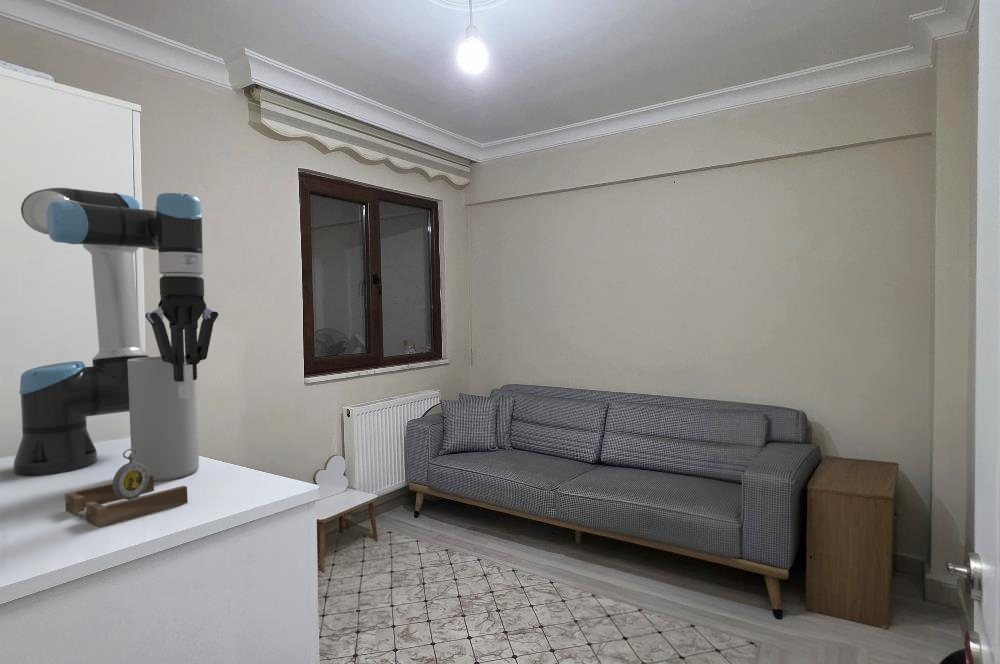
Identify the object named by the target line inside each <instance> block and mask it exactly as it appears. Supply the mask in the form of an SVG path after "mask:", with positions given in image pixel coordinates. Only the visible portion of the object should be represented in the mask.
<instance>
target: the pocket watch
mask: <svg viewBox="0 0 1000 664" xmlns="http://www.w3.org/2000/svg"><path fill="white" fill-rule="evenodd" d="M131 450H133V451H134V452H135V455H134V456H132V454H131V453H129V455H128V456H126V453H127V452H128V451H131ZM136 454H137V452H136V450H134V449H131V448H129V449H126V450H125V451H124V452H123V453H122V456H123V458H124V459H127V460H129V461H128V463H125V464H123V465H122V466H121V467H119V469H118V470H117V471H116V472H115V475H114V477H113V479H112V483H113V490H114V492H115V494H116V495H117V496H118V497H120V498H121V499H122V500H129V499H133V498H137V497H141V496H142V494H144V493H143V491H144V490H145V489H146V487H147V485H148V481H149V472H148V469H147V468H146V466H145V465H144V464H142V463H140V462H133V461H132V459H133V458H134V457H135V456H136ZM136 474H138V475H137V477H138V478H137V477H136ZM136 480H138V483H137V482H136ZM130 482H131V484H130ZM128 483H129V485H127V484H128ZM124 485H125V486H126V487H125V486H124ZM127 487H134V488H133V489H132V488H131V490H129V491H128V490H127ZM125 488H126V489H125ZM143 496H145V494H144V495H143Z"/></svg>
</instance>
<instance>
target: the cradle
mask: <svg viewBox="0 0 1000 664" xmlns="http://www.w3.org/2000/svg"><path fill="white" fill-rule="evenodd" d="M137 478H138V477H137ZM136 482H137V483H138V480H136ZM154 482H155V481H153V475H151V474H150V475H149V481H148V485H147V487H146V489H145V490H144V491H143V493H142V494H144V495H145V493H146V495H145V496H144V495H140V496H141V497H137V498H133V499H129V500H128V499H124V500H122V501H118V502H114V503H110V504H106V505H103V504H105V503H109V502H113V501H117V500H121V499H122V498H120V497H118V496H117V495H116V494H115V492H114V490H113V482H110V483H107V484H102V485H97V486H94V487H89V488H84V489H81V490H80V489H79V490H75V491H71V492H68V493H67V492H66V493H64V503H65V504H64V505H65V506H64V507H65V512H68V513H70V514H71V515H73V516H75V517H78V518H80V519H82V520H84V521H86V522H88V523H90V524H92V525H94V526H96V527H97V528H102V527H106V526H110V525H113V524H117V523H119V522H124V521H127V520H131V519H135V518H138V517H143V516H146V515H149V514H152V513H157V512H160V511H164V510H167V509H171V508H175V507H178V506H182V505H185V504H188V502H189V501H188V486H186V485H181V486H177V487H172V488H169V489H164V490H161V491H158V492H153V491H155V486H154V485H155V484H154ZM130 484H131V482H130ZM127 485H129V483H128V484H127ZM124 486H125V485H124ZM125 487H126V486H125ZM131 488H132V489H133V488H134V487H127V490H128V491H129V490H131ZM125 489H126V488H125ZM149 492H153V493H149ZM147 493H149V494H147Z"/></svg>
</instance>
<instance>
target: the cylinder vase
mask: <svg viewBox="0 0 1000 664" xmlns="http://www.w3.org/2000/svg"><path fill="white" fill-rule="evenodd" d="M127 364H128V387H129V411H130V412H129V411H128V412H129V426H130V428H129V431H130V449H134V450H136V452H137V454H136V456H135V457H134V458H133V459H132V461H133V462H140V463H142V464H144V465H145V466H146V468H147V469H148V472H149V475H150V474H151V475H153V482H164V481H169V480H170V481H171V480H176V479H181V478H184V477H187V476H189V475H192V474H194V473H195V472H197V471H198V470H199V467H200V464H199V463H200V457H199V454H200V453H199V452H200V451H199V432H198V430H199V429H198V427H199V426H198V409H197V408H198V402H197V400H198V399H197V398H198V397H197V379H196V380H193V393H194V398H190V399H183V398H179V386H178V382H176V381H174V373H173V365H172V364H171V363H168V362H163V361H162V358H161V355H160V356H149V357H144V358H134V359H129V360H127ZM184 364H187V363H186V360H185V355H184ZM130 452H131V453H130V454H132V456H134V455H135V452H134V451H133V450H130ZM137 475H138V474H136V477H137Z"/></svg>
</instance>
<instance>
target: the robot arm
mask: <svg viewBox="0 0 1000 664" xmlns="http://www.w3.org/2000/svg"><path fill="white" fill-rule="evenodd" d="M155 204H156V206H155V210H153V209H152V210H151V209H144V208H143V206H142V205H141V202H139V201H138V199H136V198H135V197H134V196H131V195H127V194H120V193H118V192H113V193H112V192H106V191H105V192H104V191H95V190H94V191H93V190H87V189H78V188H77V189H76V188H70V187H50V188H43V189H39V190H36V191H34V192H31V193H29V194H28V195H27V196H26V197H25V198H24V199H23V201H22V203H21V206H20V214H21V216H22V219H23V221H24V222H25V224H27V226H28V227H30V228H31V230H34V231H37V233H41V234H44V235H48V236H49V239H50V240H52V241H53V242H55V243H60V244H61V243H62V244H68V245H82V248H83V249H84V250H86V251H87V252H89V254H90V255H91V263H92V264H91V266H92V267H91V268H92V274H93V275H92V277H93V289H94V302H95V314H96V325H97V337H98V339H97V340H98V341H97V342H98V352H97V353H96V355H94V357H92V361H91V362H92V366H86V365H85V364H84V362H83V361H81V360H79V361H78V360H74V361H68V362H58V363H52V364H46V365H41V366H38V367H34V368H30V369H27V370H25V371H24V372H23V373H21V375H20V382H19V384H20V387H19V394H20V404H21V405H20V407H21V427H22V431H21V432H22V438H21V440H20V442H19V446H18V449H17V452H16V455H15V457H14V461H13V473H14V472H15V474H16V473H17V474H16V475H20V474H24V475H23V476H39V475H49V474H57V473H63V472H65V473H66V472H70V471H73V470H79V469H82V468H86V467H89V466H92V465H94V464H95V463H97V462H98V451H97V449H96V446H95V445H94V442H93V439H92V438H91V436H90V434H89V431H88V428H87V426H88V425H87V417H95V416H103V415H110V414H111V415H112V414H117V413H118V414H119V413H126V412H129V413H130V411H129V387H128V364H127V360H129V359H134V358H144V357H150V356H149V353H147V352H145V351H144V350H143V349H142V347H141V346H142V345H141V333H140V323H139V322H140V321H139V312H138V300H137V299H138V298H137V287H136V278H135V277H136V276H135V265H134V264H135V262H134V253H136V252H137V250H139V249H140V248H141V249H142V248H145V249H148V250H152V251H156V250H157V253H158V272H159V274H160V275H162V276H161V277H160V278H159V279H158V280H159V296H160V299H159V302H158V305H157V308H156V309H154V310H152V311H151V312H146V313H145V315H144V317H145V319H146V320H147V321H148V323H149V324H150V325H151V327H152V331H153V334H154V337H155V340H156V341H155V342H156V345H157V348H158V351H159V355H160V356H161V358H162V361H163V362H168V363H171V364H172V365H173V373H174V381H176V382H178V386H179V398H183V399H190V398H194V393H193V380H196V381H197V379H198V368H197V367H198V364H199V363H200V362H201V361H204V360H206V359H207V357H208V353H209V347H210V343H211V339H212V334H213V330H214V329H213V327H214V323H215V322H216V320H217V318H218V317H219V313H218V311H214V310H212V309H210V308H209V307H207V303H206V301H205V299H204V298H205V280H204V278H203V277H202V276H201V275H204V255H203V254H204V251H203V250H204V249H203V214H202V205H201V201H200V198H198V197H197V196H195V195H193V194H187V193H180V192H164V193H160V194H157V197H156V203H155ZM164 317H165V318H166V320H167V321H168V324H169V325H168V326H169V330H170V339H169V335H168V331H167V328H166V325H165V323H164ZM200 318H202V321H201V323H200V327H199V320H200ZM198 329H199V332H198ZM184 356H185V360H186V363H187V364H184Z"/></svg>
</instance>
